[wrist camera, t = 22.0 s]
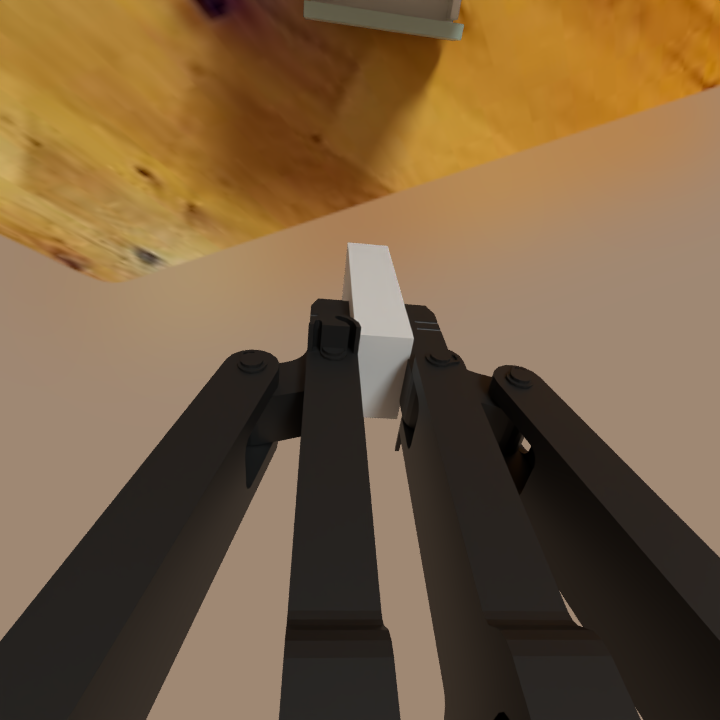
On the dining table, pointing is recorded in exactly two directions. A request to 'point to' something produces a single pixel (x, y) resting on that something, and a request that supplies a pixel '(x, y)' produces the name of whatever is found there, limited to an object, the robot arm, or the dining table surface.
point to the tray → (391, 15)
